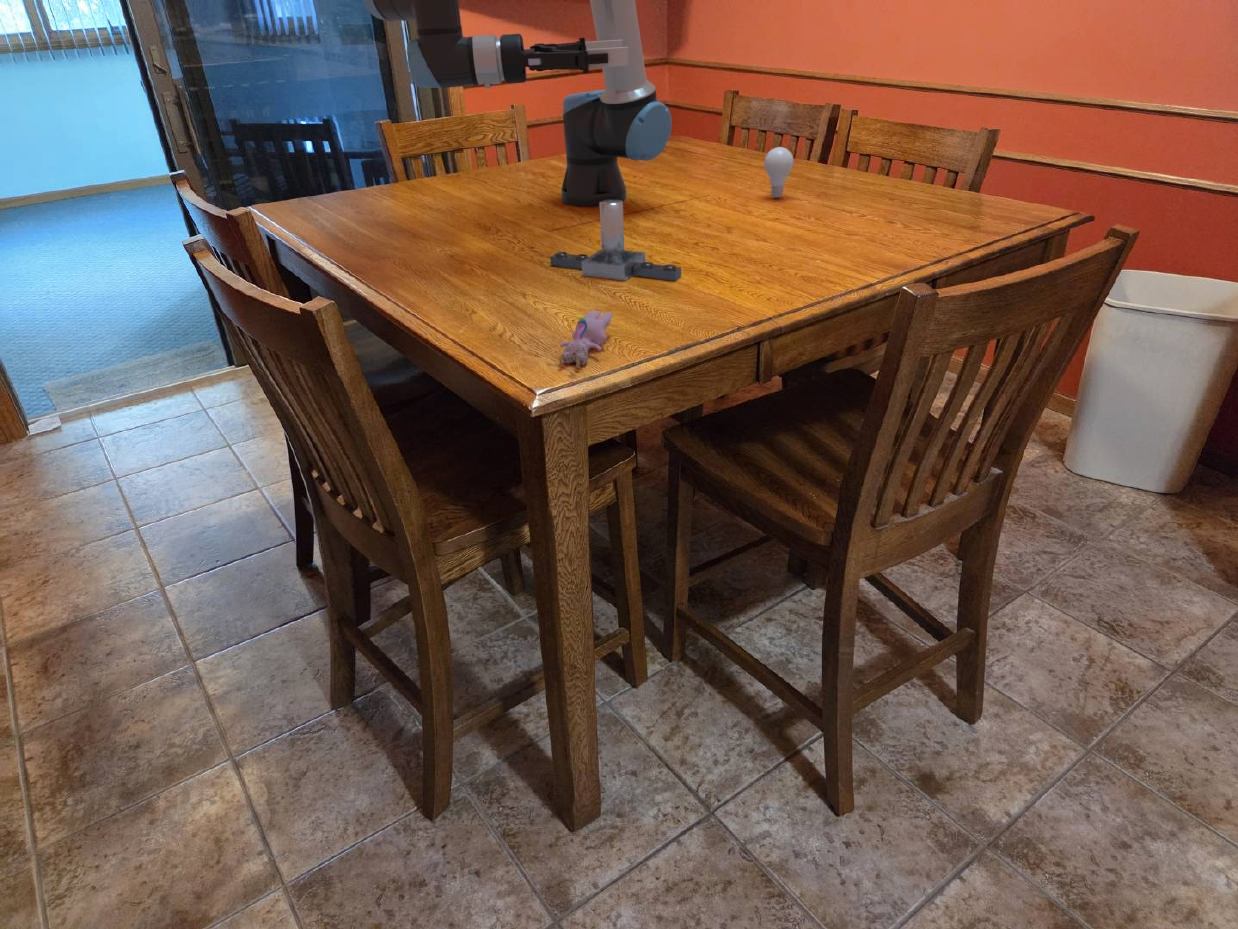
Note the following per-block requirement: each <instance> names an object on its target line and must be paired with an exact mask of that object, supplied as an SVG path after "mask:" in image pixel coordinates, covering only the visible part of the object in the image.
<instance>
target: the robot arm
mask: <svg viewBox="0 0 1238 929" xmlns="http://www.w3.org/2000/svg"><path fill="white" fill-rule="evenodd" d="M459 1H460V0H363V3H364V6H365V7H366V10H367V11H368V12H369V13H370V14H371V15H372V16H373V17H375V18H377V19H379V20H384V21H387V22H399V21H400V22H402V21H403V22H405V21H406V22H407V21H409V22H415V29H416V38H414V39H410V40H409V41H408V42H407V43H406V44H407V45H406V55H407V64H408V65H407V66H408V70H409V74H410V77H411V80H412V82H413V83H414V85H415V86H416V87H418V88H421V89H427V88H428V89H432V88H433V89H434V88H437V89H443V88H444V89H445V88H446V89H447V88H459V87H473V86H480V85H481V86H482V85H484V87H485V89H487V90H489V89H490V88H491V85H501V83H502V81H503V80H504V82H505V83H506V84H507V85H508V84H523V83H526V81H527V68H528V71H532V72H533V71H536V72H544V71H557V70H558V71H559V70H564V71H565V70H570V71H571V70H574V71H575V70H579V71H582V73H583V74H588V73H590V69H595V68H601V69H602V74H603V80H604V85H605V86H604V87H605V88H604V89H599V90H591V91H586V92H585V91H584V92H578V93H573V94H568V95H566V96H565V97H564V99H563V101H562V107H563V108H562V111H563V112H562V119H563V120H562V121H563V130H564V131H563V132H564V142H565V144H564V146H565V154H566V155H565V156H566V169H565V173H564V176H563V182H562V186H561V190H560V194H561V201H562V203H564V204H566V205H571V206H574V207H600V204H599V203H600V202H601V201H604V200H621V201H623V202H624V201H625V200H626V198H627V187H626V184H625V181H624V178H623V175H622V172H621V170H620V169H621V168H620V167H619V164H618V158H622V159H629V160H631V161H635V162H637V161H645V162H646V161H651V160H653V159H655V158H658V156H659V155H660V154H662V152H663V151H664V150H665V148H666V146H667V144H668V142H669V140H670V138H671V137H670V136H671V133H672V126H673V124H672V123H673V122H672V120H673V119H672V115H671V112H670V110H669V108H668V107H667V106H666V105H665V104H664V103H662V102H660V101H658V98H657V90H656V86H655V85H654V84H653V83H652V82H651V81H650V80H648V79H647V72H646V67H645V60H644V59H645V58H644V54H643V52H644V51H643V47H642V40H641V39H642V38H641V33H640V25H639V20H638V13H637V8H636V6H637V5H636V0H589V2H590V3H589V4H590V8H591V14H592V20H593V25H594V30H595V31H594V32H595V36H596V41H595V40H593V41H586V37H579V38H578V40H577V41H576V42H575V41H572V42H564V43H563V42H562V43H539V42H538V43H534V45H531V46H529V48H528V49H527V48H526V49H525V47H524V46H525V44H524V39H523V36H522V34H520V33H509V34H507V33H506V34H502V35H500V37H498V36H497V35H496V34H484V35H473V36H464V35H463V28H462V21H461V13H460V12H461V10H460V3H459Z"/></svg>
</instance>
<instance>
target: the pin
mask: <svg viewBox="0 0 1238 929" xmlns="http://www.w3.org/2000/svg"><path fill="white" fill-rule="evenodd" d="M599 204H600V206H599V220H600V221H599V223H600V241H601V244H600V245H601V249H602V262H606V263H614V264H623V263H625V253H624V250H625V232H624V231H625V229H624V228H625V227H624V226H625V225H624V200H623V201H621V200H604V201H601V202H600V203H599Z"/></svg>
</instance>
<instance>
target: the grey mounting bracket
mask: <svg viewBox="0 0 1238 929" xmlns="http://www.w3.org/2000/svg"><path fill="white" fill-rule="evenodd" d="M624 253H625V263H623V264H614V263H606V262H602V248H600V249H599V250H598V251H596V252H594V253H593V254H591V255H590V256H588V254H586V253H585V254H584V253H581V254H570V253H569V254H568V252H565V251H558V252H556V253H554V254H553V255H551V256H549V261H550V266H551V265H552V267H558V266H559V267H558V268H567V269H574V270H575V269H576V270H581V274H582V277H590V278H591V277H592V278H599V279H607V280H615V281H621V282H622V281H623V282H626V281H627V280H628V279H630V278H632V277H638V276H642V277H641V278H646V277H649V278H648V279H654V278H656V279H655V280H663V281H671V282H676V281H678V280H679V279H680V278H681V277H682V267H681V266H680V267H679V266H677V265H675V264H664V265H662V264H655V263H653V262H651V261H646V252H640V251H632V250H625V249H624ZM629 277H630V278H629Z"/></svg>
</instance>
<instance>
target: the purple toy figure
mask: <svg viewBox="0 0 1238 929" xmlns="http://www.w3.org/2000/svg"><path fill="white" fill-rule="evenodd" d="M612 317H613V313H612V312H609V311H608V312H605V313H602V312H601V311H598V310H591V311H588V312H587V313H585V315H584V316H583V317H580V318H579V319H578V322H577V324H576V329H575V330H574V331H573V333H572V337H571V338H572V339H573V340H571V341H565V342H560V343H559V347H560V348H563V347H565V348H564V350H563V353H561V355H560V356H561V358H559V362H558V363H559V364H558V367H560V368H561V367H562V368H564V369H565V368H566V367H565V365H564V364H563V363H565V364H566V363H567V364H566V365H571V364H570V363H572V364H573V363H575V367H574V370H575V369H577V370H578V369H579V371H580V370H582V368H581V366H580V365H582V366H584V365H586V364H587V362H588V359H589V350H590V348H593V349H596V350H597V351H600V352H601V351H602V349H603V348H602V347H601V346H602V345H603V344H604V343H606V340H607V339H608V337H607V334H606V330H607V327H609V325H610V324H611V321H612Z"/></svg>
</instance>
